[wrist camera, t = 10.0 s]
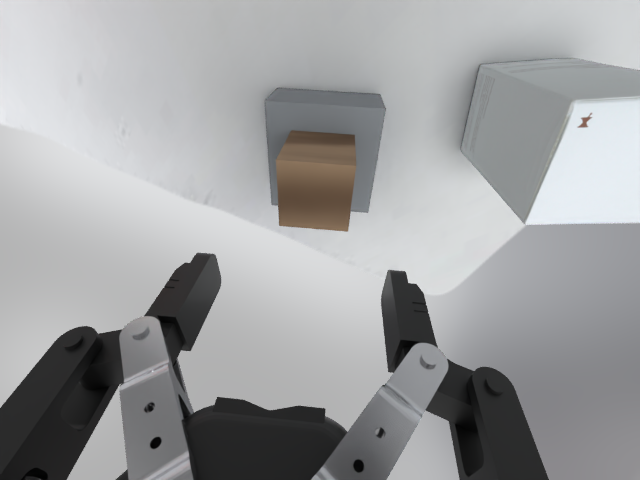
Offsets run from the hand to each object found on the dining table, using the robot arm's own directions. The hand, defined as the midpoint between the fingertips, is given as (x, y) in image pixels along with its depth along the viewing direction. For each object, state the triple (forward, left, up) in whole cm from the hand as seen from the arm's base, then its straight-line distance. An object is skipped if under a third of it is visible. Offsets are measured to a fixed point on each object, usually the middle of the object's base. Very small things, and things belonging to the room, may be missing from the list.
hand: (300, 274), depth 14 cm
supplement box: (-4, +16, -19) cm, 25 cm away
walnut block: (0, 0, -13) cm, 13 cm away
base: (0, 0, -18) cm, 18 cm away
